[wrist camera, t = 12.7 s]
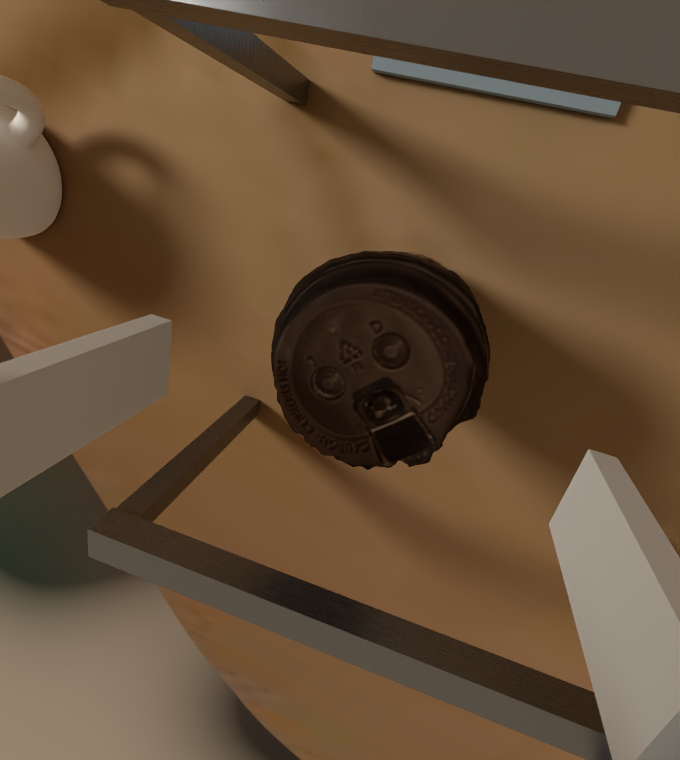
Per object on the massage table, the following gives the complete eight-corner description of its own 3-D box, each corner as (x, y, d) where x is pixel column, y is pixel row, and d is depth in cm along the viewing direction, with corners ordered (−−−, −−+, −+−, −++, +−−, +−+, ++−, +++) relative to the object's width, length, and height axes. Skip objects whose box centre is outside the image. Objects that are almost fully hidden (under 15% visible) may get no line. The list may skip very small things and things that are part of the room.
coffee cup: (459, 385, 28) (457, 516, 16) (333, 361, 29) (248, 463, 18) (493, 243, 24) (522, 278, 13) (349, 224, 26) (256, 239, 14)
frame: (242, 411, 33) (88, 556, 19) (289, 71, 24) (63, -105, 10) (638, 542, 29) (795, 845, 15) (873, 188, 20) (1775, 148, 6)
